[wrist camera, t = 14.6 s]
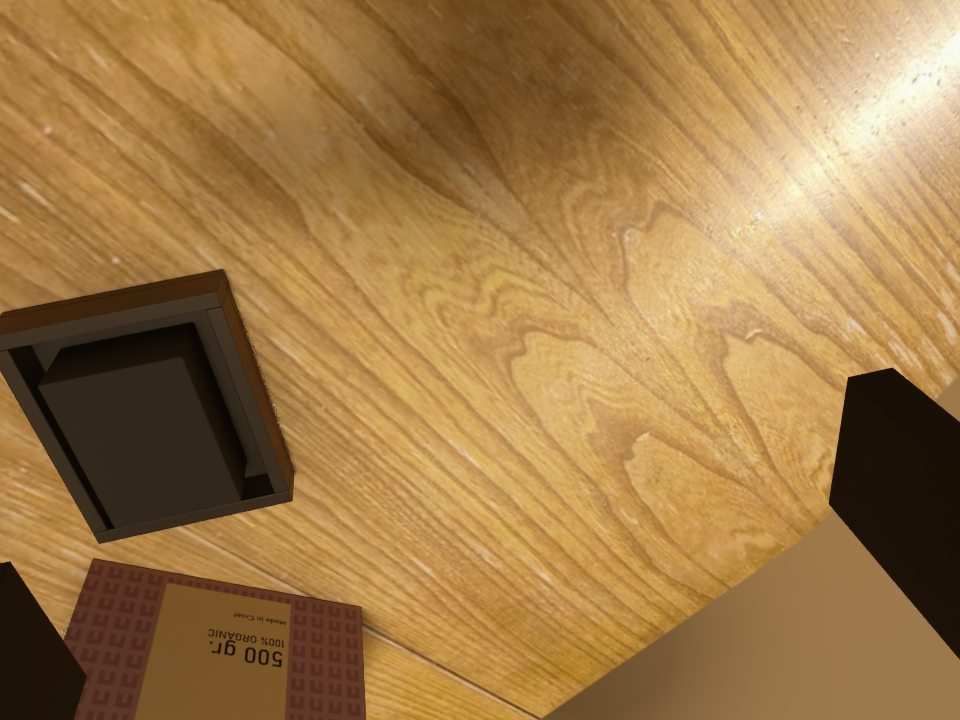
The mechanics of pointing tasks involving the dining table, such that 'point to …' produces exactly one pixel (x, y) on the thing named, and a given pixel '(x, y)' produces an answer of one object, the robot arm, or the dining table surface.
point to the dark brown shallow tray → (199, 299)
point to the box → (211, 650)
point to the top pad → (147, 424)
